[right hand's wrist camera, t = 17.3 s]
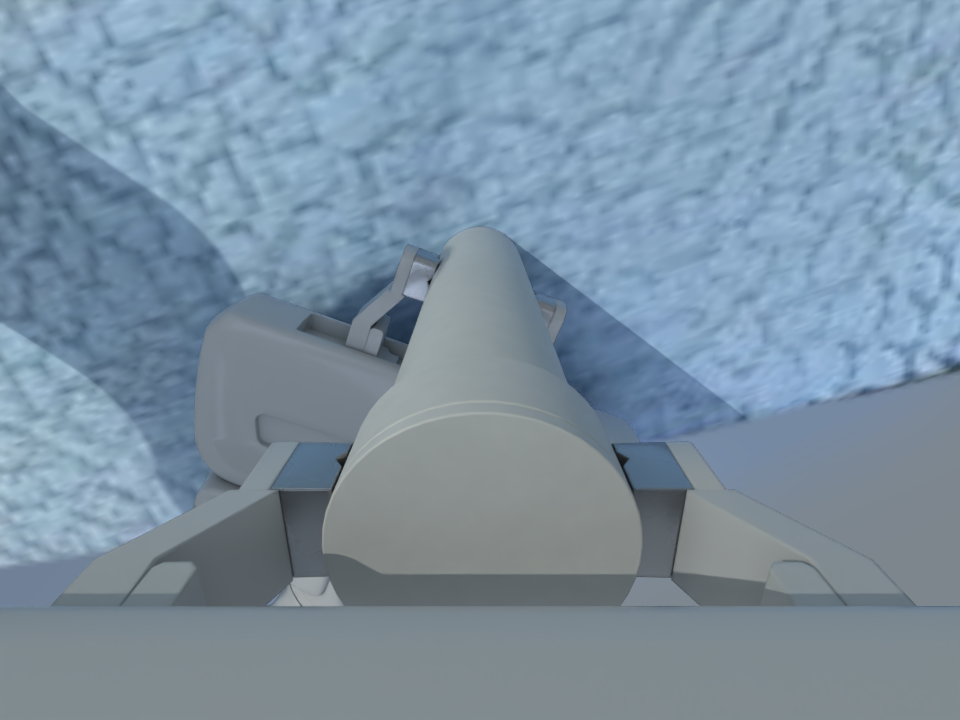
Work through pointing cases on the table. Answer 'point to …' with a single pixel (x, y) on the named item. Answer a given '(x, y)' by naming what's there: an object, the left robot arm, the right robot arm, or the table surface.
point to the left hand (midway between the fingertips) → (486, 275)
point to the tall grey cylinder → (480, 307)
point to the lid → (482, 495)
